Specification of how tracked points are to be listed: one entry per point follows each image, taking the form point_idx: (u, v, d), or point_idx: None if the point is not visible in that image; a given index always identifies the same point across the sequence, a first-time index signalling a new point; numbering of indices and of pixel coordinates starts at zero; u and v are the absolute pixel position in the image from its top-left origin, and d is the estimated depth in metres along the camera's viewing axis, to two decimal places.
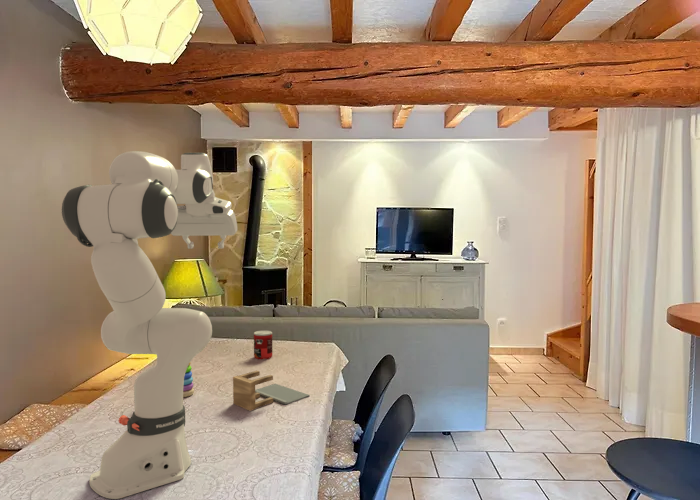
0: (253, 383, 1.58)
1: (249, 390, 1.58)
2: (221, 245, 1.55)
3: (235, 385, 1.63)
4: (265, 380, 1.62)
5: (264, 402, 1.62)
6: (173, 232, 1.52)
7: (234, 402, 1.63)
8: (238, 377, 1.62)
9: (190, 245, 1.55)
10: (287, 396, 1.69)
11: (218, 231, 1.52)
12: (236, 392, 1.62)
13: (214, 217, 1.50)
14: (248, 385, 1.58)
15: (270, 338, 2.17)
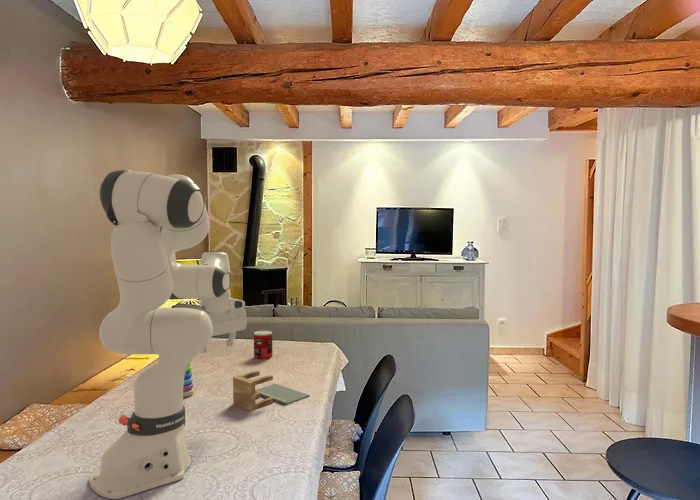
0: (253, 383, 1.58)
1: (249, 390, 1.58)
2: (232, 342, 1.56)
3: (235, 385, 1.63)
4: (265, 380, 1.62)
5: (264, 402, 1.62)
6: None
7: (234, 402, 1.63)
8: (238, 377, 1.62)
9: (205, 348, 1.49)
10: (287, 396, 1.69)
11: (233, 327, 1.55)
12: (236, 392, 1.62)
13: (233, 312, 1.54)
14: (248, 385, 1.58)
15: (270, 338, 2.17)
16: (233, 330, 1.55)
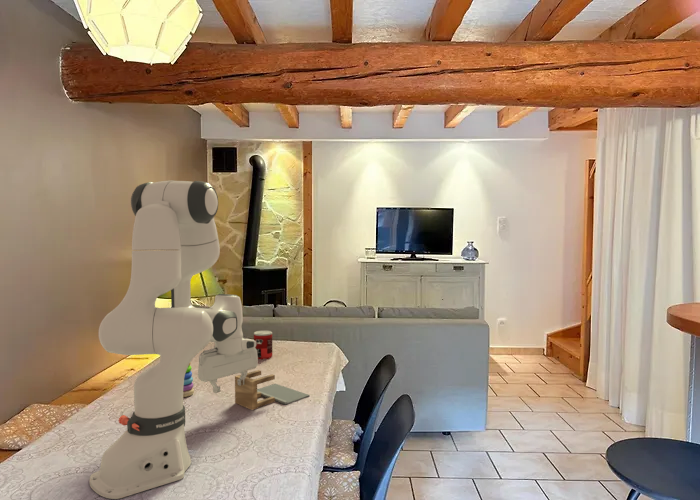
0: (255, 382, 1.59)
1: (251, 389, 1.58)
2: (243, 381, 1.60)
3: (237, 385, 1.63)
4: (267, 379, 1.63)
5: (266, 401, 1.63)
6: (207, 378, 1.49)
7: (236, 401, 1.64)
8: None
9: (218, 388, 1.53)
10: (287, 396, 1.69)
11: (245, 367, 1.59)
12: (238, 391, 1.63)
13: (245, 352, 1.58)
14: (250, 384, 1.58)
15: (270, 338, 2.17)
16: (245, 369, 1.59)
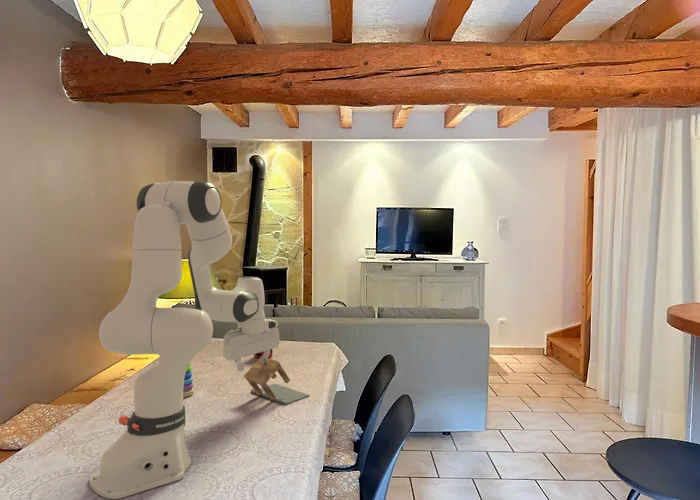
0: (279, 365, 1.66)
1: (272, 366, 1.64)
2: (266, 360, 1.67)
3: (258, 362, 1.69)
4: (284, 376, 1.68)
5: (270, 391, 1.64)
6: (232, 357, 1.55)
7: (246, 375, 1.66)
8: None
9: (242, 367, 1.60)
10: (287, 396, 1.69)
11: (267, 346, 1.65)
12: (256, 367, 1.68)
13: (267, 332, 1.64)
14: (274, 363, 1.65)
15: None
16: (267, 348, 1.66)
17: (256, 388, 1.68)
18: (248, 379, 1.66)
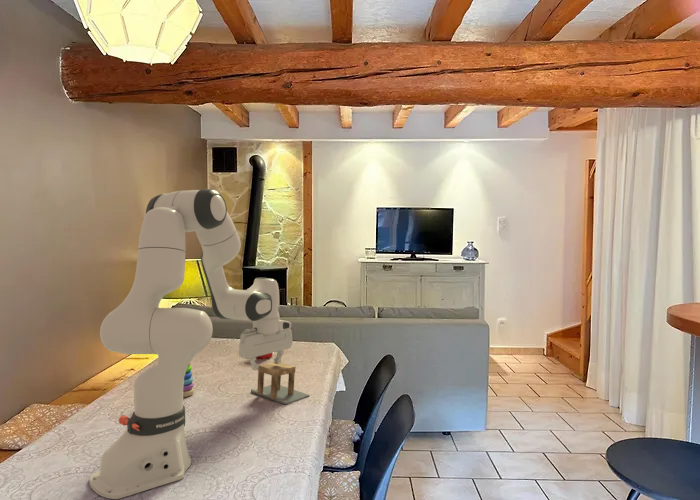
0: (294, 370, 1.71)
1: (289, 367, 1.70)
2: (280, 360, 1.71)
3: (274, 363, 1.75)
4: (292, 385, 1.71)
5: (276, 387, 1.66)
6: (248, 355, 1.60)
7: (260, 365, 1.71)
8: None
9: (257, 366, 1.64)
10: (287, 396, 1.69)
11: (281, 346, 1.70)
12: (271, 364, 1.73)
13: (281, 333, 1.69)
14: (291, 366, 1.71)
15: None
16: (281, 349, 1.70)
17: (261, 384, 1.70)
18: (261, 369, 1.70)
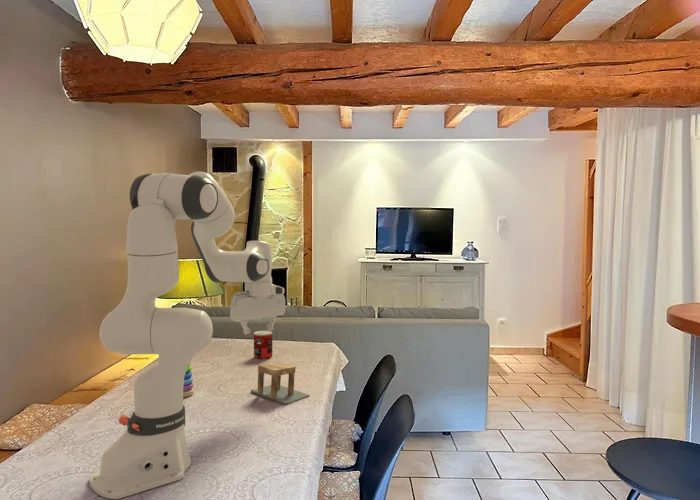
0: (294, 370, 1.71)
1: (289, 367, 1.70)
2: (272, 326, 1.67)
3: (274, 363, 1.75)
4: (292, 385, 1.71)
5: (276, 387, 1.66)
6: (239, 317, 1.56)
7: (260, 365, 1.71)
8: None
9: (249, 330, 1.60)
10: (287, 396, 1.69)
11: (274, 312, 1.67)
12: (271, 364, 1.73)
13: (274, 298, 1.66)
14: (291, 366, 1.71)
15: (270, 338, 2.17)
16: (274, 315, 1.67)
17: (261, 384, 1.70)
18: (261, 369, 1.70)
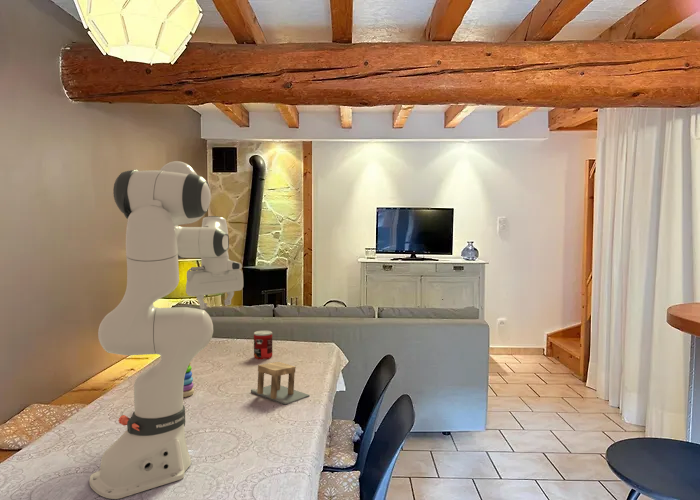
0: (294, 370, 1.71)
1: (289, 367, 1.70)
2: (230, 301, 1.70)
3: (274, 363, 1.75)
4: (292, 385, 1.71)
5: (276, 387, 1.66)
6: (194, 292, 1.59)
7: (260, 365, 1.71)
8: None
9: (205, 304, 1.63)
10: (287, 396, 1.69)
11: (231, 287, 1.69)
12: (271, 364, 1.73)
13: (231, 273, 1.68)
14: (291, 366, 1.71)
15: (270, 338, 2.17)
16: (231, 290, 1.69)
17: (261, 384, 1.70)
18: (261, 369, 1.70)
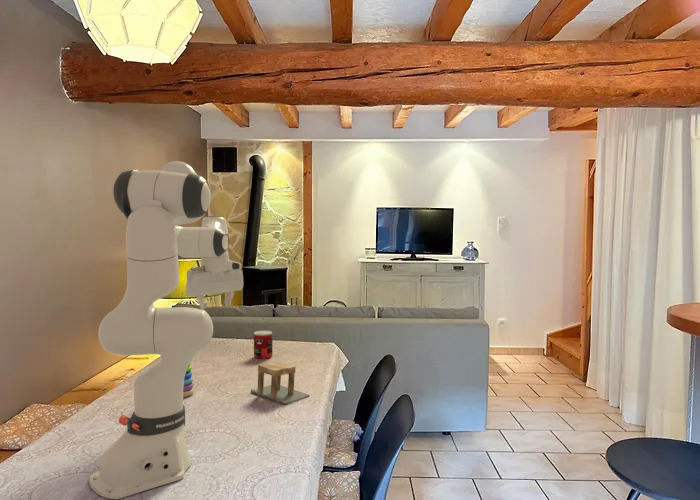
0: (294, 370, 1.71)
1: (289, 367, 1.70)
2: (230, 301, 1.70)
3: (274, 363, 1.75)
4: (292, 385, 1.71)
5: (276, 387, 1.66)
6: (194, 292, 1.59)
7: (260, 365, 1.71)
8: None
9: (205, 304, 1.63)
10: (287, 396, 1.69)
11: (231, 287, 1.69)
12: (271, 364, 1.73)
13: (230, 273, 1.68)
14: (291, 366, 1.71)
15: (270, 338, 2.17)
16: (231, 290, 1.69)
17: (261, 384, 1.70)
18: (261, 369, 1.70)
